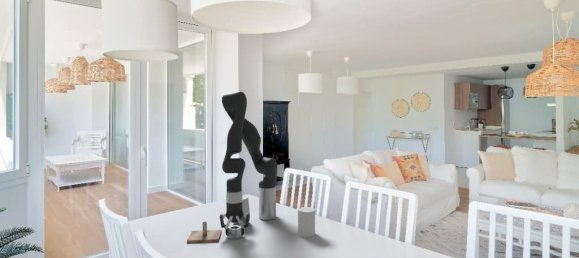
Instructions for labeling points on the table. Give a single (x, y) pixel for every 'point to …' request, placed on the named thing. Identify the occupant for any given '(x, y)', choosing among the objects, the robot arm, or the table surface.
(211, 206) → the table surface
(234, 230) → the ring
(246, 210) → the smart speaker
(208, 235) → the post stand
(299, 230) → the cup
